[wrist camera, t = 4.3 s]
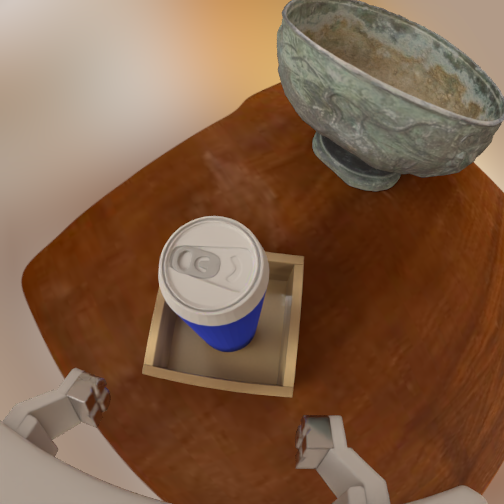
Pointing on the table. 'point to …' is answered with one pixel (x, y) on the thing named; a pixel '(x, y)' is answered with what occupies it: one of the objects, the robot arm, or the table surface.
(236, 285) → the beverage can
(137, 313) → the table surface
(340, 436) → the robot arm
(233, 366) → the wooden tray
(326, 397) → the table surface
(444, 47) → the decorative bowl
